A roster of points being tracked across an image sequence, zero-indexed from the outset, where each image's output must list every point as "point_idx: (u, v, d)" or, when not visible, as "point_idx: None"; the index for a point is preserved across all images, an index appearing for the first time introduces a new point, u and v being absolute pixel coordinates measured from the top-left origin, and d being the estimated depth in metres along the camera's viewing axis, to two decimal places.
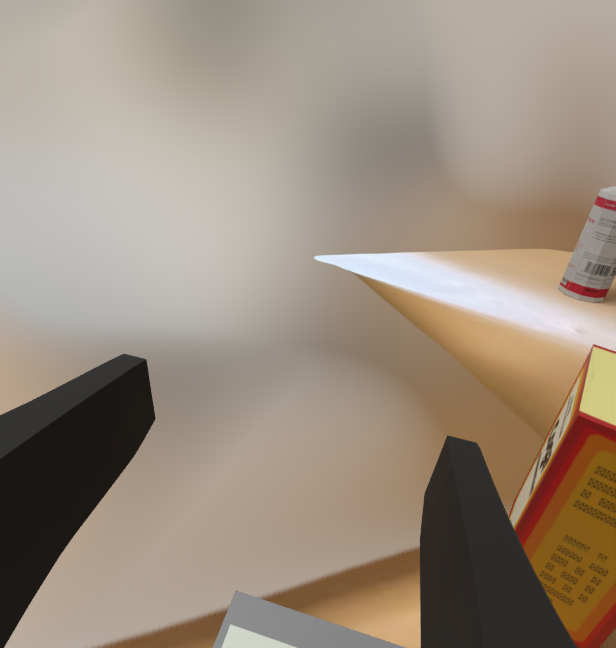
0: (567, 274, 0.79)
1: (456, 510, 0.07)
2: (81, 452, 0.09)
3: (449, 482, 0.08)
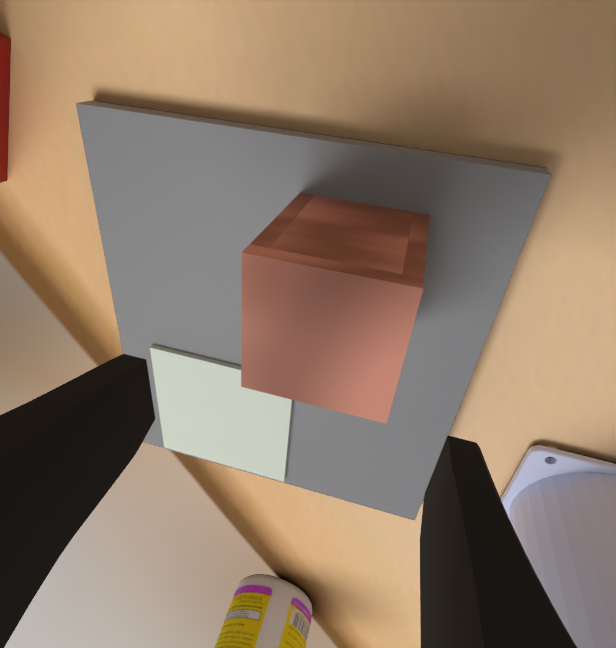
0: None
1: (456, 510, 0.07)
2: (81, 452, 0.09)
3: (449, 482, 0.08)
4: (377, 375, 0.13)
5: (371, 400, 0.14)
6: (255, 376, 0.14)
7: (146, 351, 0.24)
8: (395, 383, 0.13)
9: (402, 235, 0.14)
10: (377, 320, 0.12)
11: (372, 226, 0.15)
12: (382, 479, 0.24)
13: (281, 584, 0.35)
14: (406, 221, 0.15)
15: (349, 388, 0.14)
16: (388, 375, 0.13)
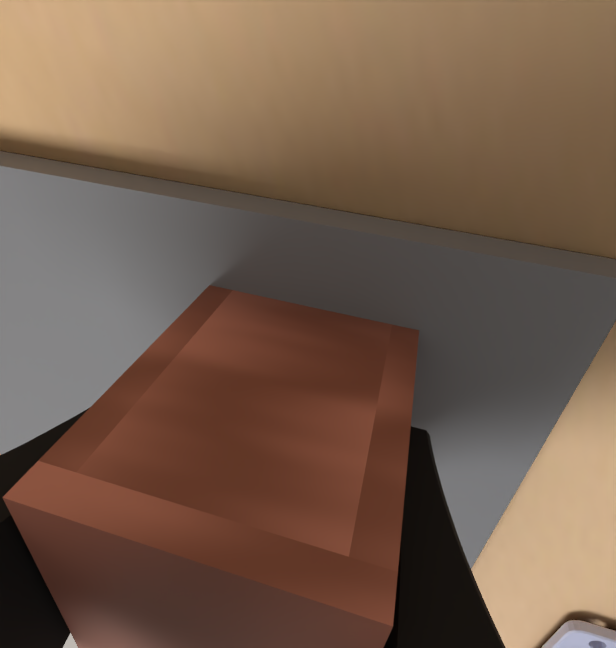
0: None
1: None
2: None
3: None
4: None
5: None
6: None
7: None
8: None
9: (365, 398, 0.08)
10: (298, 643, 0.06)
11: (313, 373, 0.08)
12: None
13: None
14: (378, 353, 0.09)
15: None
16: None
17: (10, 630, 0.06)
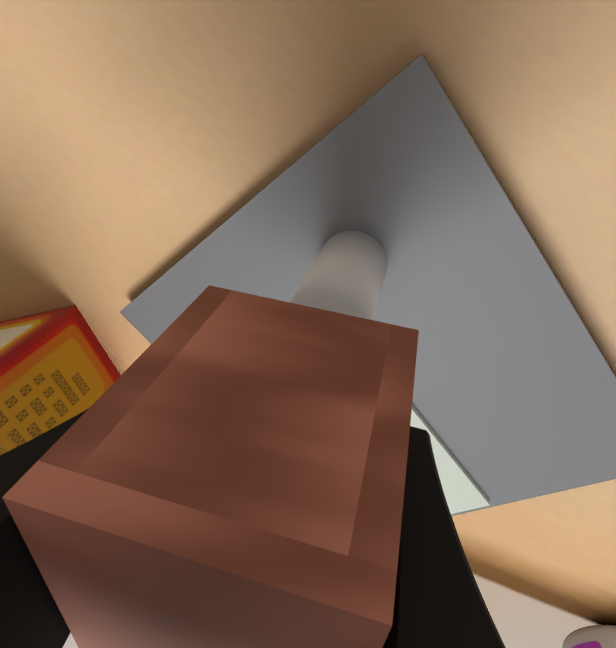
0: None
1: None
2: None
3: None
4: None
5: None
6: None
7: None
8: None
9: (365, 398, 0.08)
10: (297, 642, 0.06)
11: (313, 373, 0.08)
12: (582, 441, 0.20)
13: (606, 631, 0.27)
14: (377, 353, 0.09)
15: None
16: None
17: (10, 630, 0.06)
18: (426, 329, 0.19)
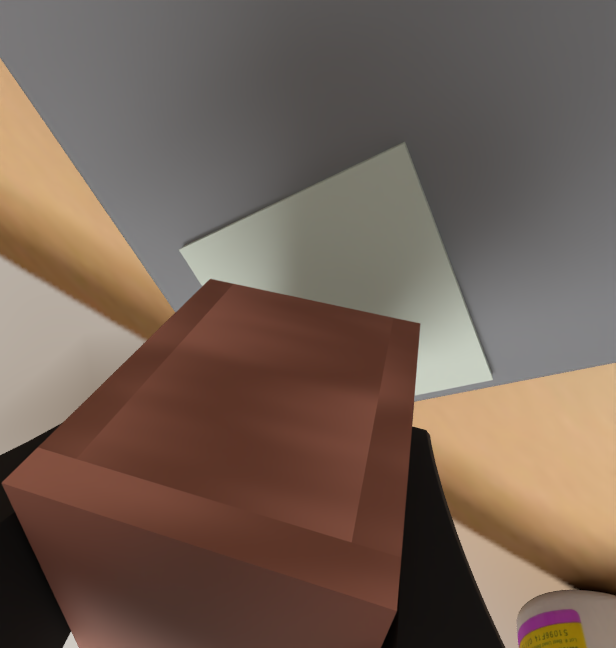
0: None
1: None
2: None
3: None
4: None
5: None
6: (96, 644, 0.08)
7: (183, 266, 0.15)
8: None
9: (367, 388, 0.08)
10: (300, 631, 0.06)
11: (314, 364, 0.08)
12: None
13: (588, 597, 0.20)
14: (379, 345, 0.09)
15: None
16: None
17: (10, 630, 0.06)
18: None
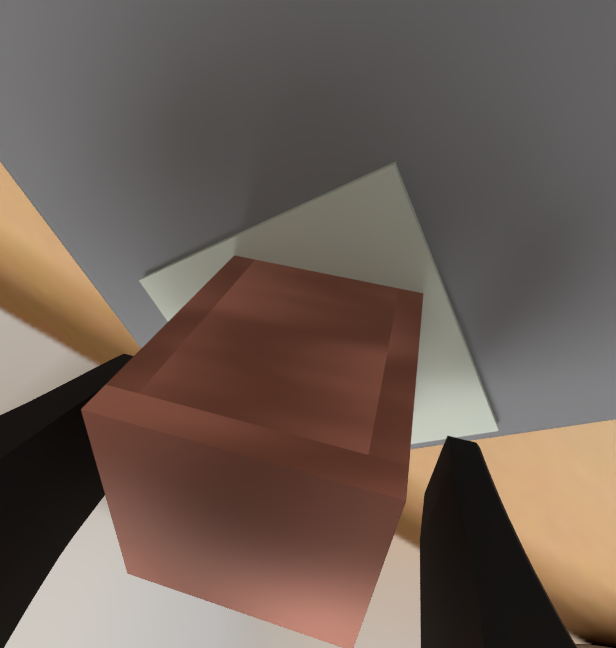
0: None
1: (456, 510, 0.07)
2: (81, 452, 0.09)
3: (449, 482, 0.08)
4: (332, 596, 0.08)
5: (325, 622, 0.08)
6: (144, 565, 0.09)
7: (145, 297, 0.14)
8: (363, 610, 0.08)
9: (378, 344, 0.09)
10: (325, 530, 0.07)
11: (331, 325, 0.09)
12: None
13: None
14: (387, 311, 0.10)
15: (289, 603, 0.08)
16: (350, 599, 0.08)
17: None
18: None
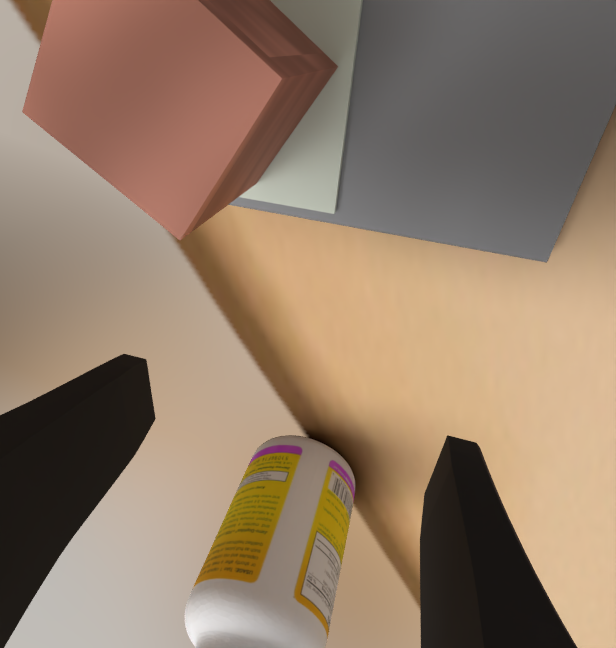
0: None
1: (456, 510, 0.07)
2: (81, 452, 0.09)
3: (449, 482, 0.08)
4: (191, 172, 0.11)
5: (173, 203, 0.11)
6: (45, 104, 0.11)
7: None
8: (207, 192, 0.11)
9: (297, 49, 0.12)
10: (217, 96, 0.10)
11: (271, 21, 0.12)
12: (503, 174, 0.15)
13: (314, 443, 0.25)
14: (311, 49, 0.13)
15: (154, 175, 0.11)
16: (203, 178, 0.11)
17: None
18: None
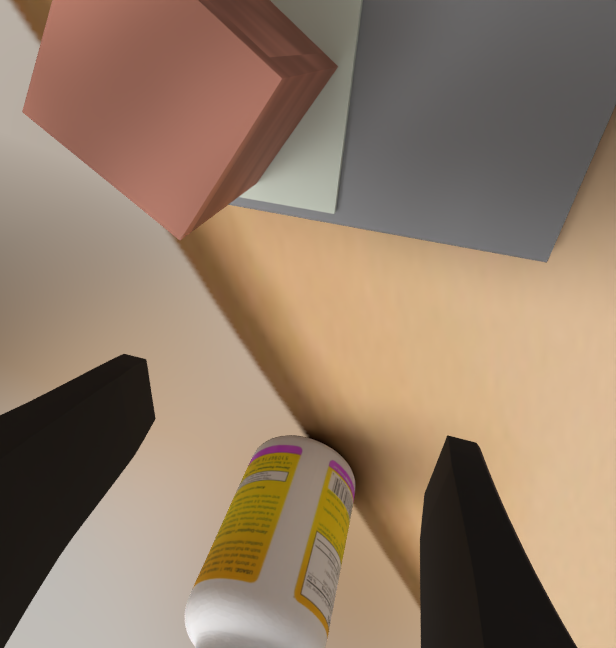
0: None
1: (456, 510, 0.07)
2: (81, 452, 0.09)
3: (449, 482, 0.08)
4: (191, 172, 0.11)
5: (173, 203, 0.11)
6: (45, 104, 0.11)
7: None
8: (207, 192, 0.11)
9: (297, 49, 0.12)
10: (217, 96, 0.10)
11: (271, 21, 0.12)
12: (503, 174, 0.15)
13: (314, 443, 0.25)
14: (311, 49, 0.13)
15: (154, 175, 0.11)
16: (203, 178, 0.11)
17: None
18: None
